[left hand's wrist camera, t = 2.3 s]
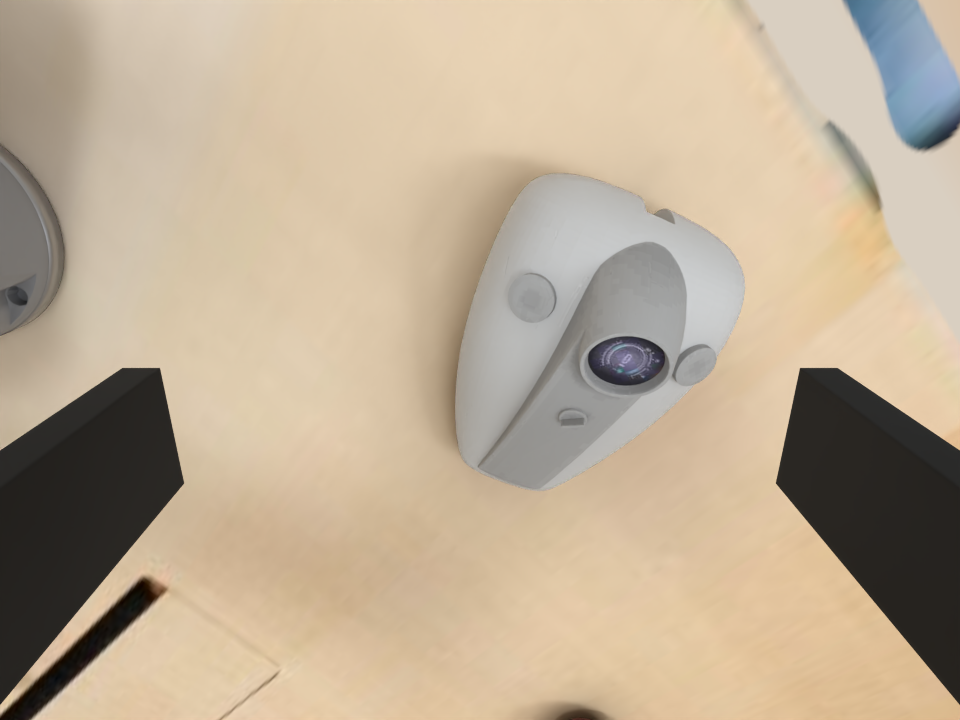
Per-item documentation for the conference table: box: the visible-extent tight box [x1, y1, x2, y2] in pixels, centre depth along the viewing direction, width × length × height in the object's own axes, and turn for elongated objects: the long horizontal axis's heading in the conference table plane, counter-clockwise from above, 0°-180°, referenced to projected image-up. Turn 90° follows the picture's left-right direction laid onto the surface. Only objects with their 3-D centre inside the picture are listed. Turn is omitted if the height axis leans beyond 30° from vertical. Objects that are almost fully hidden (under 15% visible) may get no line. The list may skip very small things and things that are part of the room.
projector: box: [455, 173, 745, 491], centre depth 38 cm, size 22×23×15 cm
